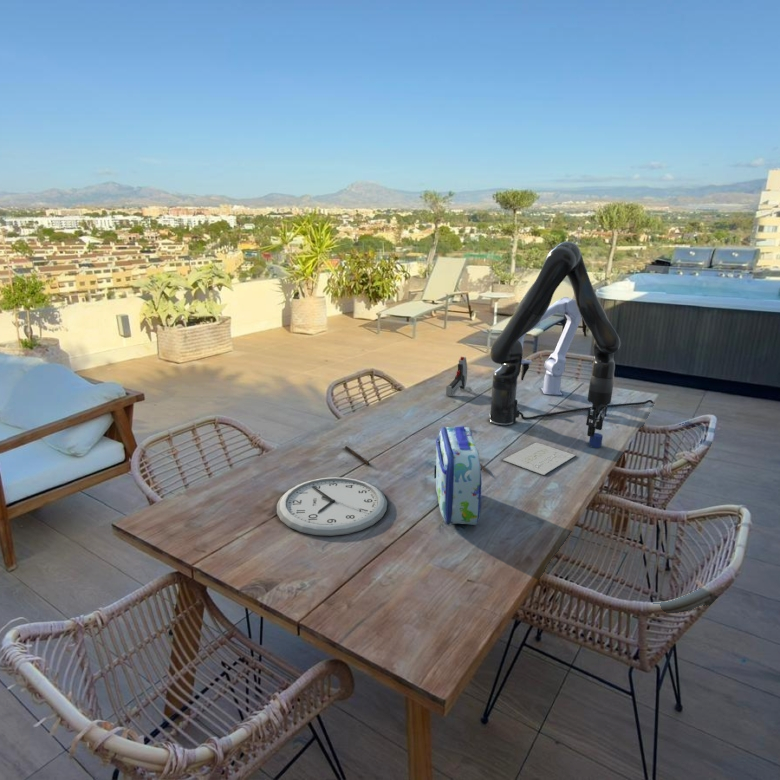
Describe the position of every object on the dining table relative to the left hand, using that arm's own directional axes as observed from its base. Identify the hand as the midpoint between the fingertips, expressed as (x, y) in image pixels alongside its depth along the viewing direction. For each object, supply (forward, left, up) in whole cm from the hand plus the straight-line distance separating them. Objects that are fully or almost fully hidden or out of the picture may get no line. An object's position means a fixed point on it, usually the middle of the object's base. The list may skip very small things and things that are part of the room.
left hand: (594, 432), depth 184 cm
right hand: (0, -63, +2) cm, 63 cm away
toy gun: (+25, -68, -5) cm, 73 cm away
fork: (+47, +5, -5) cm, 47 cm away
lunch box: (+63, +29, -5) cm, 70 cm away
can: (-1, 0, -5) cm, 5 cm away
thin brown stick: (+84, -9, -5) cm, 84 cm away
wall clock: (+96, +21, -5) cm, 98 cm away
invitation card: (+24, +6, -5) cm, 25 cm away
